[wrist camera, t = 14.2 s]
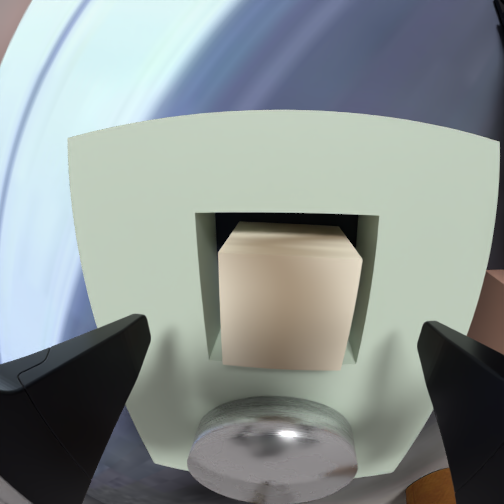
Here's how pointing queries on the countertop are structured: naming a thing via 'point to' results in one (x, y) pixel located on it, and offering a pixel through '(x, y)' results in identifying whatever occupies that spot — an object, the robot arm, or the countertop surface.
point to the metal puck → (273, 450)
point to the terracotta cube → (490, 312)
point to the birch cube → (287, 295)
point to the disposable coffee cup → (432, 489)
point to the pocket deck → (283, 201)
